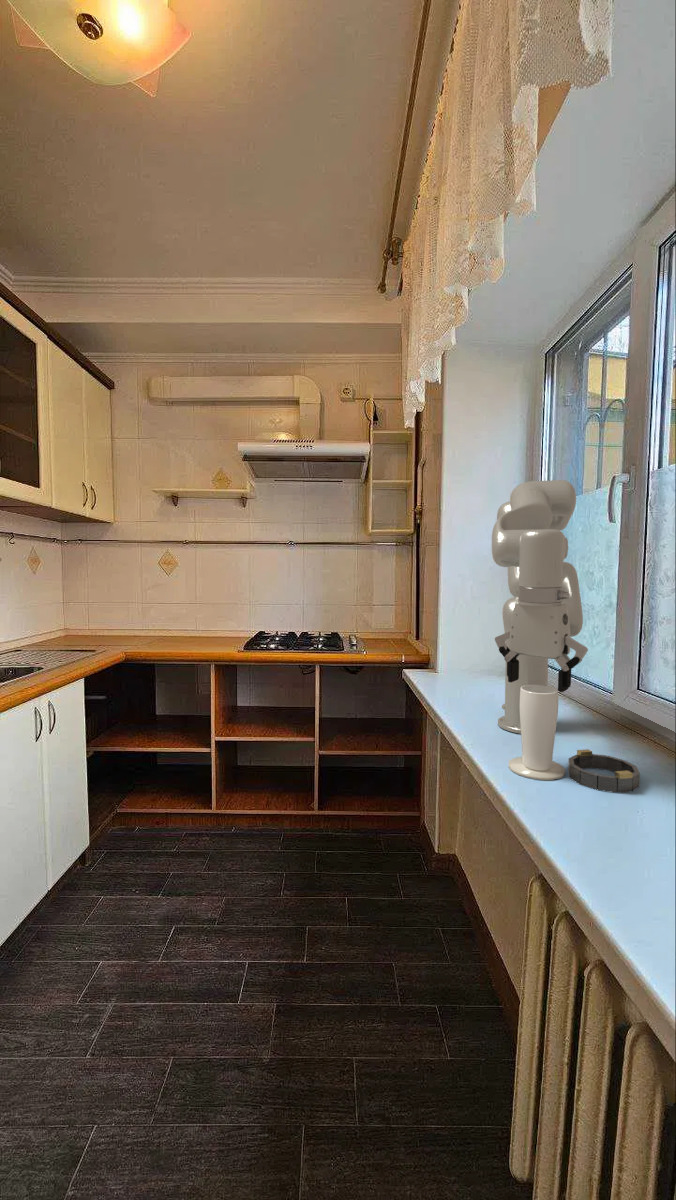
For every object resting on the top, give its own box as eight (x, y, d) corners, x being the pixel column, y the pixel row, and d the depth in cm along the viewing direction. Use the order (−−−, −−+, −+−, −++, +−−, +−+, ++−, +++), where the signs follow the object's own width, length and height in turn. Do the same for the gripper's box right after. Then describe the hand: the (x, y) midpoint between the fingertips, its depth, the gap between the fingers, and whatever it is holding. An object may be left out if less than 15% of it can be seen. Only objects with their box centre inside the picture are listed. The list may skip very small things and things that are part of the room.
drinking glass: (519, 756, 100) (521, 683, 99) (556, 762, 98) (559, 686, 96) (516, 770, 94) (518, 691, 93) (555, 776, 91) (558, 695, 90)
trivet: (499, 761, 100) (499, 758, 100) (545, 758, 102) (545, 755, 102) (525, 782, 90) (526, 779, 90) (576, 778, 92) (576, 775, 92)
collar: (555, 768, 97) (555, 751, 96) (608, 764, 98) (608, 747, 98) (596, 795, 85) (596, 776, 85) (654, 790, 87) (655, 771, 87)
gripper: (596, 597, 91) (592, 690, 93) (506, 592, 103) (504, 674, 105) (580, 601, 85) (576, 699, 87) (487, 595, 98) (486, 681, 100)
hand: (537, 685), depth 96 cm, fingers open, 9 cm apart
